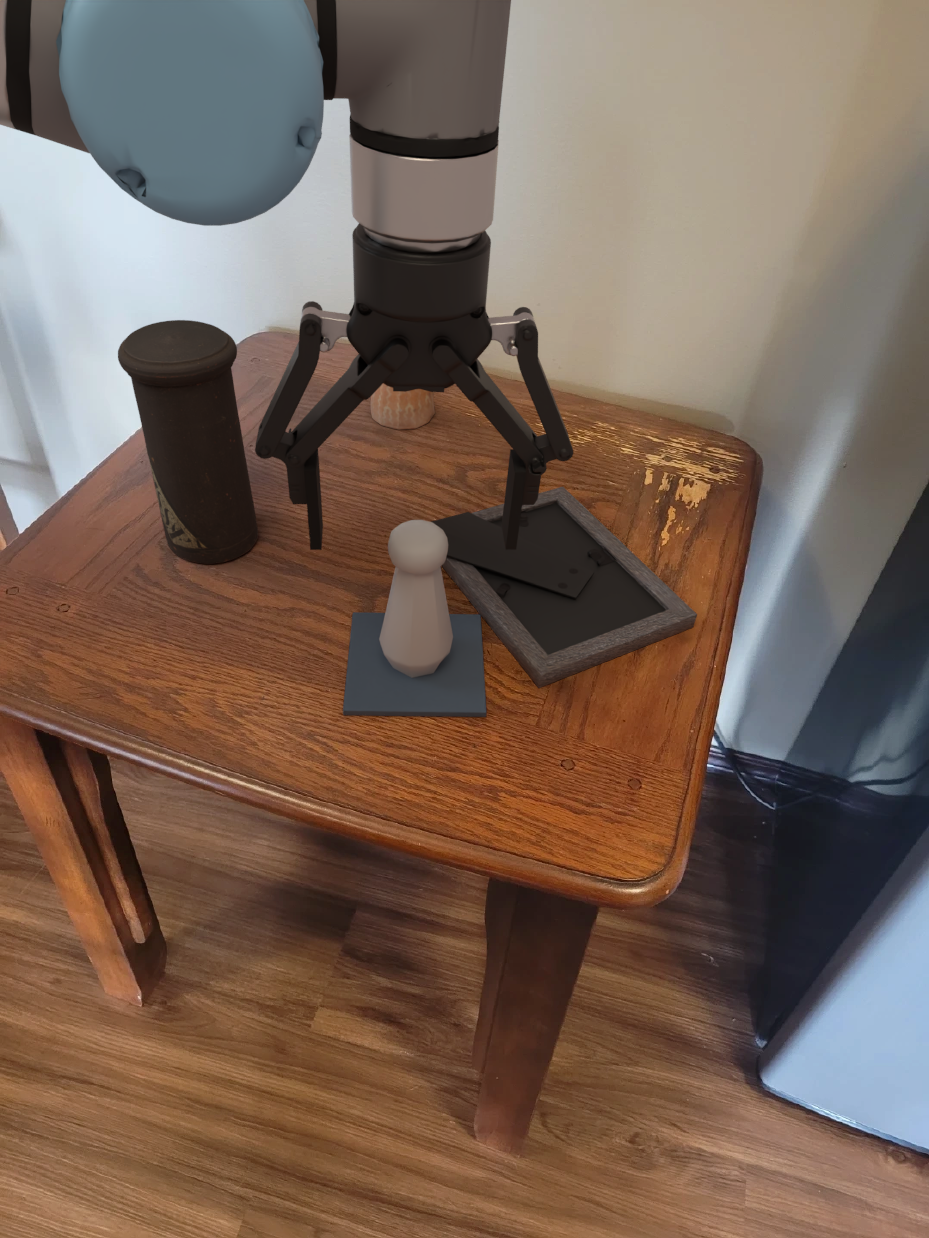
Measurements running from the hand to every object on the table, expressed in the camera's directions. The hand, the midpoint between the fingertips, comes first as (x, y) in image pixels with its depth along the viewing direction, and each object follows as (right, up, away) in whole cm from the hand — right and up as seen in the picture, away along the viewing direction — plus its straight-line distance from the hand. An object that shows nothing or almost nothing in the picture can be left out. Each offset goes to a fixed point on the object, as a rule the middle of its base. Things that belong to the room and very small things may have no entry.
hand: (413, 538), depth 60 cm
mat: (0, -9, +9) cm, 13 cm away
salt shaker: (0, -9, +9) cm, 13 cm away
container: (-20, +2, +20) cm, 28 cm away
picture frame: (+12, -3, +18) cm, 21 cm away
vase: (-3, +18, +38) cm, 43 cm away
